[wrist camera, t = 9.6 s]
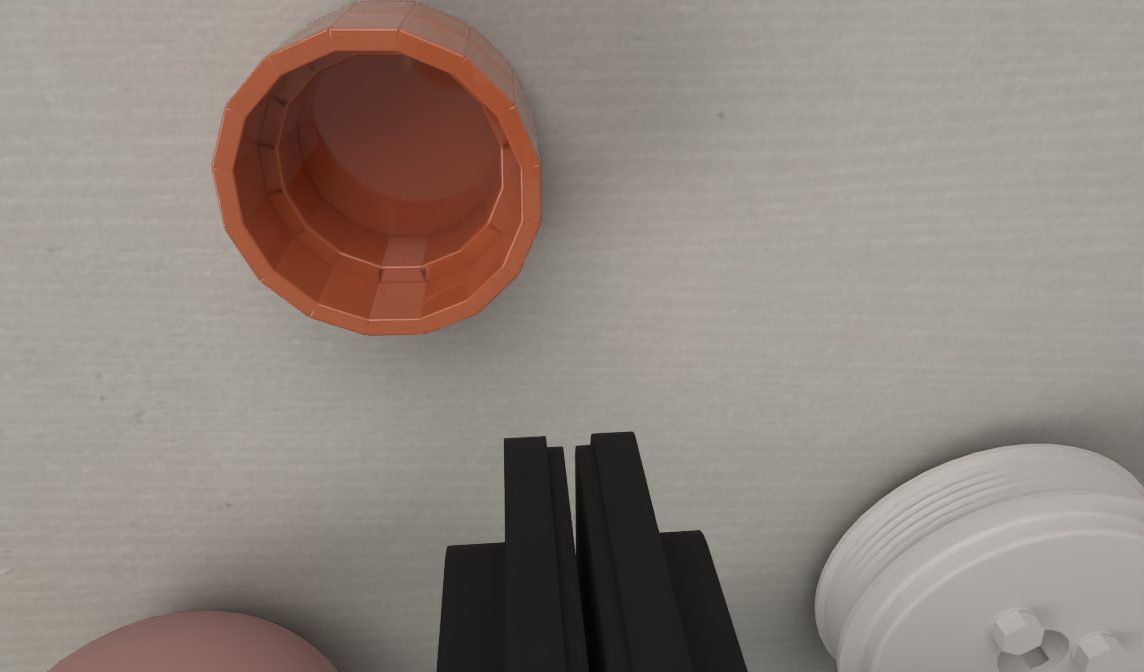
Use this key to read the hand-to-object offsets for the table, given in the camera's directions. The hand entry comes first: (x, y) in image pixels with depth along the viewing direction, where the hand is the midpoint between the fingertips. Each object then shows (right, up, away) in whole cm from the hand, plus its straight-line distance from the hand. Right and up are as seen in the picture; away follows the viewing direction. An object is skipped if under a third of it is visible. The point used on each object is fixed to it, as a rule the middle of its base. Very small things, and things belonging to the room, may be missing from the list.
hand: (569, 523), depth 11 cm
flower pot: (-4, +8, +11) cm, 14 cm away
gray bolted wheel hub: (+15, -6, +20) cm, 26 cm away
